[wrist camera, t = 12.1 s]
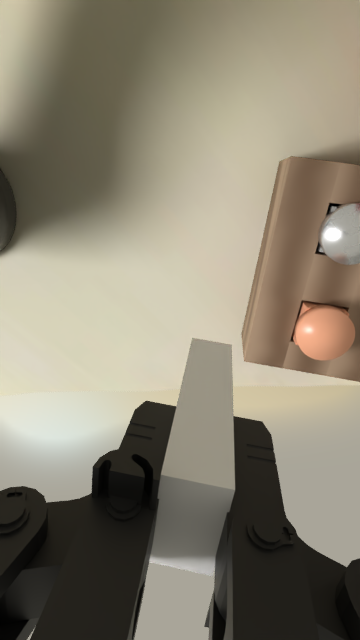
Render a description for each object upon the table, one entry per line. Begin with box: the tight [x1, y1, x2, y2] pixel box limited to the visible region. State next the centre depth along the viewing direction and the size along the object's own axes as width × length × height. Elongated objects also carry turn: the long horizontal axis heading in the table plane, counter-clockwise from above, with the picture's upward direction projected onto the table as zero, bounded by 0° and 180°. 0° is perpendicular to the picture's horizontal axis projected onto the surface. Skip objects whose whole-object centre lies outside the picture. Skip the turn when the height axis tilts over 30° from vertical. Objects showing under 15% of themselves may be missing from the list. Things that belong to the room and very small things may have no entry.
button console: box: [242, 156, 360, 382], centre depth 39 cm, size 14×22×8 cm, turn 173°
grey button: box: [316, 203, 360, 265], centre depth 35 cm, size 6×6×8 cm
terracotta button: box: [292, 300, 355, 360], centre depth 38 cm, size 6×6×8 cm
